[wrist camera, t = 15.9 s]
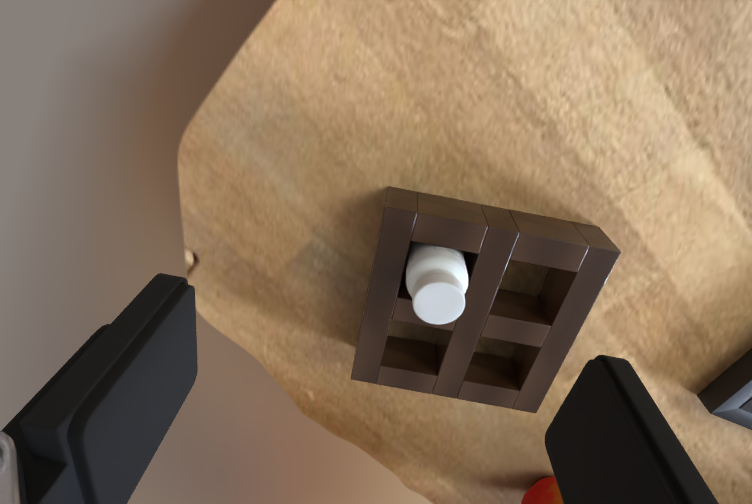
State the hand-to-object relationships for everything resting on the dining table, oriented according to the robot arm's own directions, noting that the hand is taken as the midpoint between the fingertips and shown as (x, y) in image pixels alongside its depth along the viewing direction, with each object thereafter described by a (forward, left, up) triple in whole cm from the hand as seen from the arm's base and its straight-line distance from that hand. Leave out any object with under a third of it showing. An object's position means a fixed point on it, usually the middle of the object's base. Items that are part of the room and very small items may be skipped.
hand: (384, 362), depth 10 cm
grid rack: (+8, -12, -23) cm, 27 cm away
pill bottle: (+4, -9, -23) cm, 25 cm away
